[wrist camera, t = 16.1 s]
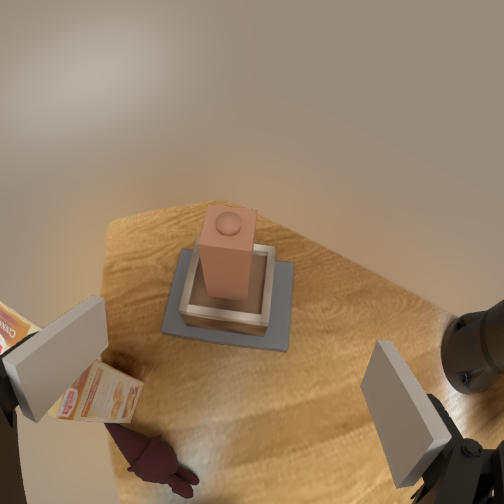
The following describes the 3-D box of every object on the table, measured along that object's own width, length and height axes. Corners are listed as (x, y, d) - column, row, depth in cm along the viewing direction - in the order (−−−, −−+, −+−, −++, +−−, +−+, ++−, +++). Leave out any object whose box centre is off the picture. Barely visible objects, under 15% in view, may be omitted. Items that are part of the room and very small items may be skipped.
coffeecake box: (146, 382, 37) (82, 349, 20) (130, 425, 33) (56, 423, 16) (66, 343, 38) (-11, 291, 22) (52, 382, 34) (-34, 346, 18)
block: (251, 267, 40) (257, 204, 29) (246, 301, 37) (252, 246, 26) (214, 262, 40) (208, 198, 29) (207, 296, 37) (197, 239, 27)
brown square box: (271, 268, 46) (276, 246, 40) (263, 337, 40) (268, 323, 35) (200, 259, 46) (196, 236, 41) (186, 325, 40) (178, 310, 35)
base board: (292, 267, 48) (293, 263, 46) (286, 352, 40) (287, 349, 39) (183, 253, 48) (181, 248, 47) (162, 334, 41) (160, 331, 39)
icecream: (78, 441, 26) (174, 517, 23) (103, 404, 27) (207, 485, 24) (103, 429, 32) (186, 493, 29) (126, 396, 34) (215, 463, 31)
